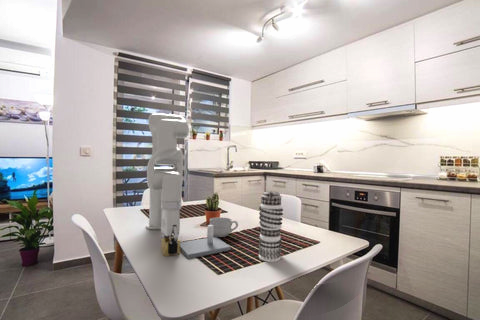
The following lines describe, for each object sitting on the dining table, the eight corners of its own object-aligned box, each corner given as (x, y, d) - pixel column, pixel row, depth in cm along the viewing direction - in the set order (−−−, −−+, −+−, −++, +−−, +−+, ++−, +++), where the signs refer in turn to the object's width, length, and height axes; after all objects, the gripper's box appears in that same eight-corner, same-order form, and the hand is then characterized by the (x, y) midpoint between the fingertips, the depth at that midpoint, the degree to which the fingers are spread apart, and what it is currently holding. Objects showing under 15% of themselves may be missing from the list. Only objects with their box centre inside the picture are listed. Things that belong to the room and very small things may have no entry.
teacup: (205, 236, 115) (205, 220, 115) (215, 230, 125) (216, 215, 125) (231, 241, 110) (232, 223, 110) (240, 234, 120) (241, 218, 120)
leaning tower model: (265, 263, 87) (267, 194, 87) (253, 254, 95) (255, 190, 95) (286, 260, 91) (288, 193, 90) (273, 251, 99) (275, 190, 99)
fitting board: (176, 246, 101) (177, 225, 101) (215, 239, 111) (216, 220, 111) (187, 258, 90) (188, 234, 89) (230, 250, 99) (231, 228, 99)
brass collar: (161, 251, 96) (161, 238, 96) (175, 248, 99) (175, 236, 99) (164, 256, 91) (165, 242, 91) (179, 253, 94) (180, 240, 94)
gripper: (156, 201, 101) (155, 245, 101) (167, 209, 86) (166, 260, 86) (174, 200, 104) (173, 242, 104) (188, 208, 90) (186, 256, 90)
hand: (170, 250), depth 95 cm, fingers open, 6 cm apart
